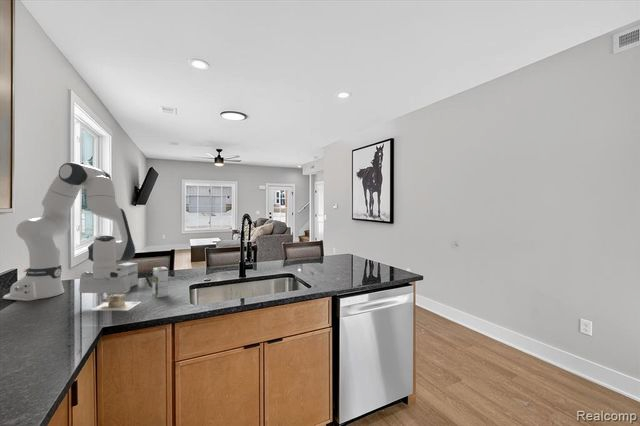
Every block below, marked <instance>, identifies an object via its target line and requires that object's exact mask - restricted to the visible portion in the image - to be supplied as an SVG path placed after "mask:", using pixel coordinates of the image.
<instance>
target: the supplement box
mask: <svg viewBox="0 0 640 426" xmlns="http://www.w3.org/2000/svg"><path fill="white" fill-rule="evenodd" d="M138 265H139V264H138V263H137V262H128V261H127V262H123V263H119V264H118V263H117V267H120V268H123V269H126V270H128V271H129V273H128V274H127V276H129V279H130V288H132V287H134V286H137V285H138V284H139V283H138V279H139V276H138V275H139V272H138V270H139V269H138V268H139V267H138Z"/></svg>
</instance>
